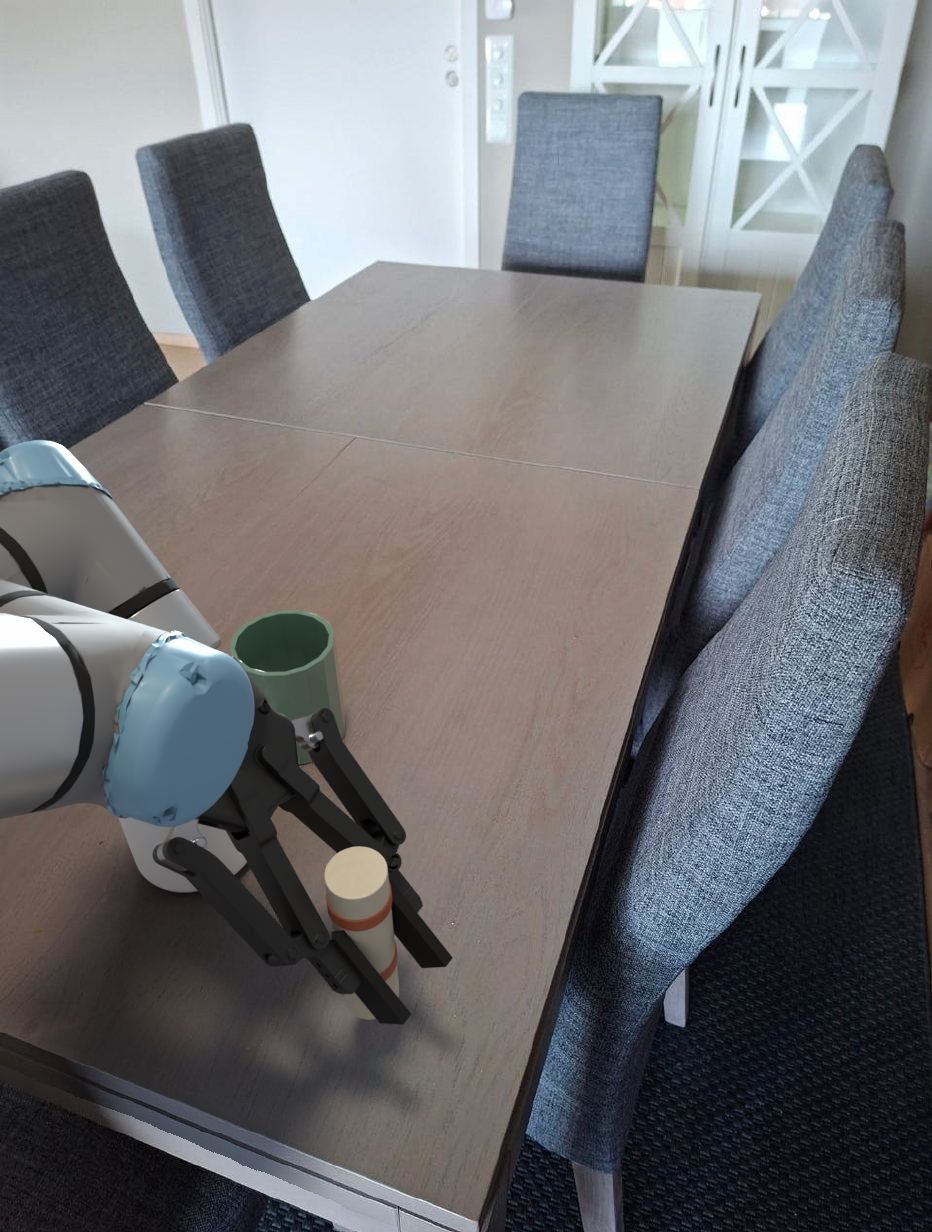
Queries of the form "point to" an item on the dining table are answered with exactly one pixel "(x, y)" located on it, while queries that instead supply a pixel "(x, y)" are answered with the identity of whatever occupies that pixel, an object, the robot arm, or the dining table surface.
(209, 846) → the cup
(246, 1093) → the dining table surface
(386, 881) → the cream banded cylinder
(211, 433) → the dining table surface
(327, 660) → the tumbler
